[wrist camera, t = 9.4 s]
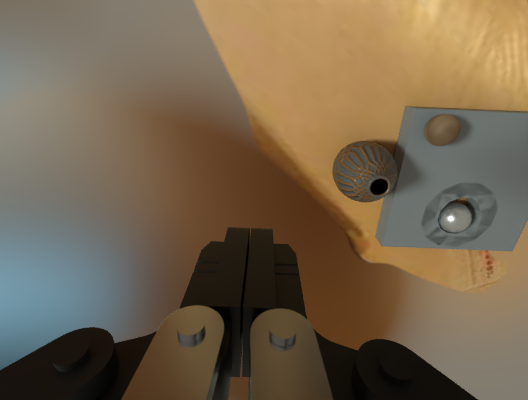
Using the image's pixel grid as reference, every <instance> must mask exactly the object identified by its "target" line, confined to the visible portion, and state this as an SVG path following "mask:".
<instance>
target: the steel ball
mask: <svg viewBox="0 0 528 400" xmlns="http://www.w3.org/2000/svg"><path fill="white" fill-rule="evenodd" d="M471 221H472V215H471V212H470V210H469V209H468V208H467V207H466V206H465V205H463V204H461V203H457V202H449V203H448V204H447V205H446V206H445V207H444V208H443V209H442V210H441V211H440V214H439V217H438V223H439V226H440V227H441V228H442V229H443V230H445V231H448V232H460V231H463V230H465V229H466V228H467V227H468V226H469V225H470V223H471Z"/></svg>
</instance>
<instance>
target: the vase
mask: <svg viewBox="0 0 528 400" xmlns="http://www.w3.org/2000/svg"><path fill="white" fill-rule="evenodd" d="M333 178H334V181H335V183H336V185H337V187H338V189H339V190H340V191H341V192H342V193H343V194H344V195H345V196H347V197H348V198H350V199H352V200H355V201H359V202H373V201H376V200H379V199H381V198H383V197H384V196H386V195H387V194H388V193H389V192H390V191H391V190H392V188H393V187H394V185H395V182H396V179H397V166H396V162H395V160H394V158H393V156H392V155H391V153H390V152H389V151H388V150H387V149H386V148H384V147H383V146H381V145H379V144H377V143H374V142H370V141H358V142H354V143H351V144H349V145H347V146H346V147H344V148H343V149H342V150H341V151H340V152H339V153H338V155H337V156H336V158H335V161H334V164H333Z"/></svg>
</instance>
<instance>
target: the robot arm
mask: <svg viewBox="0 0 528 400" xmlns="http://www.w3.org/2000/svg"><path fill="white" fill-rule="evenodd" d="M242 346H243V370H242V372H243V373H242V376H243V377H249V396H248V400H478V399H476V398H475V397H473V396H472V395H471V394H469V393H468V392H467V391H465V390H464V389H462V388H461V387H460V386H459V385H457V384H456V383H455V382H453V381H452V380H450V379H449V378H448V377H446V376H445V375H444V374H442V373H441V372H440V371H438V370H436V368H434V367H433V366H431V365H430V364H429V363H427V362H426V361H425V360H423V359H422V358H421V357H419V356H418V355H416V354H415V353H414V352H413V351H411V350H409V349H408V348H407V347H405V346H403V345H401V344H399V343H396V342H393V341H389V340H384V339H375V340H370V341H368V342H366V343H364V344H363V345H362V346H361V347H360V348H359V350H354V349H351V348H348V347H345V346H342V345H339V344H336V343H334V342H331V341H329V340H327V339H325V338H324V337H322V336H321V335H320V334H319V333H317V332H316V331H315V330H314V329H313V327H312V325H311V324H310V322H309V321H308V320H307V316H306V312H305V306H304V300H303V294H302V288H301V282H300V276H299V269H298V263H297V257H296V253H295V252H294V251H293V250H292V248H291V247H290V246H289V245H288V244H273V229H262V228H252V229H251V237H250V228H235V227H228V230H227V233H226V237H225V241H224V242H216V241H211V242H210V243H209V244H208V245H207V246H206V247H204V248H203V249H202V250H201V253H200V256H199V258H198V262H197V264H196V266H195V269H194V272H193V274H192V277H191V280H190V283H189V285H188V287H187V290H186V293H185V295H184V298H183V301H182V303H181V306H180V309H179V310H177V311H175V312H173V313H172V314H170V315H169V316H168V317H167V318H166V319H165V320H164V321H163V322H162V323H161V325H160V327H159V329H158V330H157V331H156V332H154V333H152V334H149V335H147V336H143V337H139V338H135V339H131V340H126V341H122V342H118V343H114V340H113V337H112V335H111V334H110V333H109V332H108V331H106V330H104V329H100V328H95V327H90V328H82V329H78V330H74V331H72V332H69V333H67V334H65V335H63V336H61V337H59V338H57V339H55V340H53V341H52V342H50V343H48V344H46V345H45V346H43V347H41V348H39V349H37V350H36V351H34V352H32V353H30V354H29V355H27V356H25V357H23V358H21V359H20V360H18V361H16V362H14V363H12V364H11V365H9V366H7V367H5V368H3V369H2V370H0V400H228V395H229V387H230V379H231V377H240V368H241V357H242Z"/></svg>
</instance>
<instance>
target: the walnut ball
mask: <svg viewBox="0 0 528 400" xmlns="http://www.w3.org/2000/svg"><path fill="white" fill-rule="evenodd" d="M460 131H461V125H460V122H459V120H458V119H457V118H456V117H454V116H453V115H450V114H440V115H437V116H434V117H433V118H431V119H430V120H429V121H428V122H427V123H426V125H425V128H424V137H425V139H426V140H427V141H428V142H429V143H430V144H432V145H434V146H446V145H449V144H451V143H452V142H454V141H455V140H456V139H457V138H458V136H459V134H460Z"/></svg>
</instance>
